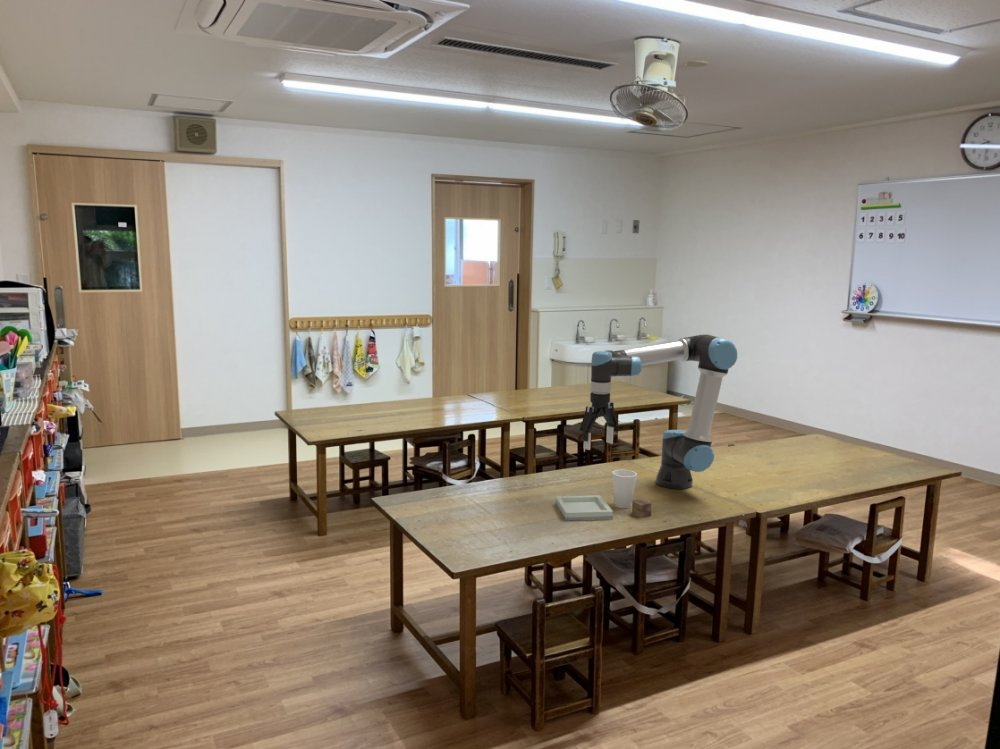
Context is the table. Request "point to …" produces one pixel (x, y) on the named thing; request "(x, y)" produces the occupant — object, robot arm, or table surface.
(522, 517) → the table surface
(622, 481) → the foam cup
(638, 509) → the walnut block
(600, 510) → the tray
